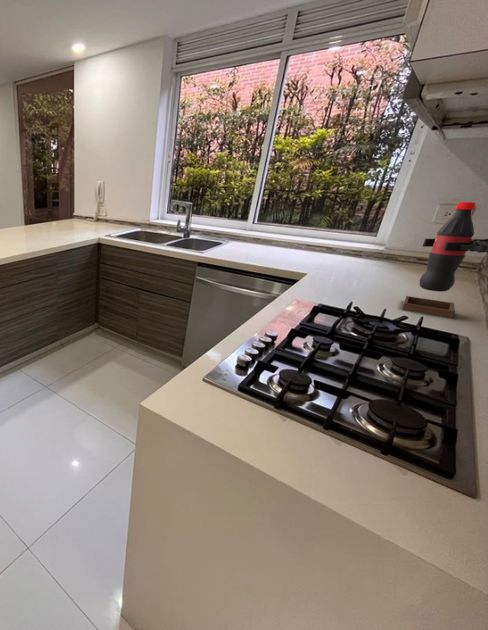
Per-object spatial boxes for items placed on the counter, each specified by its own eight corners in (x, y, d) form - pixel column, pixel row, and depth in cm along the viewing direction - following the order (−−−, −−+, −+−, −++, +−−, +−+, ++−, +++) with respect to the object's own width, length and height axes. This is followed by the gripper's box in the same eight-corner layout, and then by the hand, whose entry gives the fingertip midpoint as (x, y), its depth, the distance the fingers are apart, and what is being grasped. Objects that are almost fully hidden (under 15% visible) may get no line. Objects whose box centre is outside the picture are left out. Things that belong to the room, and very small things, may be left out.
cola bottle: (449, 289, 122) (484, 201, 111) (451, 294, 116) (488, 202, 106) (417, 284, 127) (447, 201, 117) (417, 289, 122) (449, 202, 111)
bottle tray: (450, 321, 115) (455, 311, 114) (400, 312, 124) (404, 303, 123) (450, 312, 124) (453, 303, 122) (403, 304, 132) (406, 295, 131)
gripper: (543, 263, 105) (457, 261, 109) (478, 251, 124) (408, 250, 128) (555, 238, 102) (466, 237, 106) (487, 230, 121) (415, 229, 125)
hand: (434, 244), depth 117 cm, fingers closed on cola bottle, 8 cm apart
